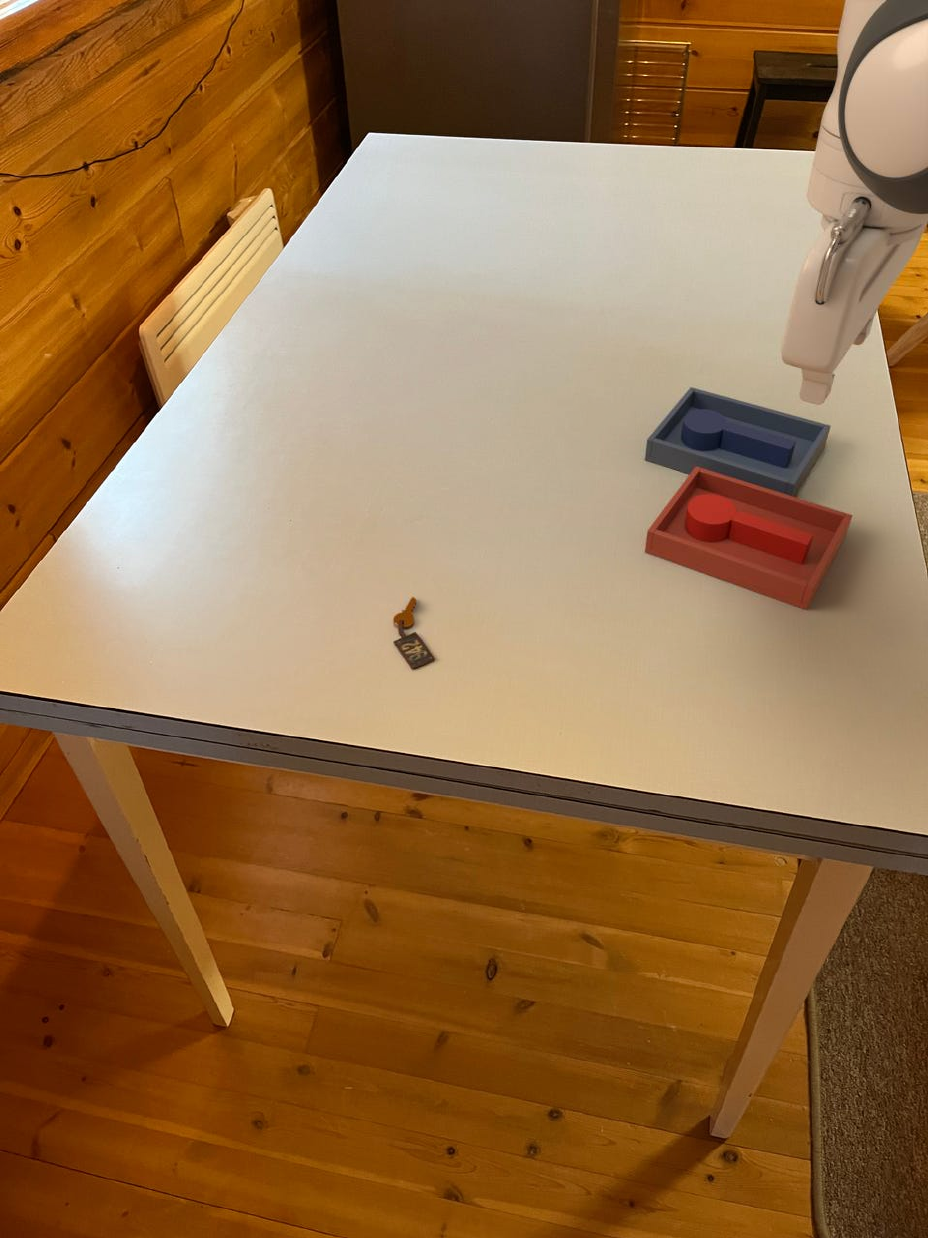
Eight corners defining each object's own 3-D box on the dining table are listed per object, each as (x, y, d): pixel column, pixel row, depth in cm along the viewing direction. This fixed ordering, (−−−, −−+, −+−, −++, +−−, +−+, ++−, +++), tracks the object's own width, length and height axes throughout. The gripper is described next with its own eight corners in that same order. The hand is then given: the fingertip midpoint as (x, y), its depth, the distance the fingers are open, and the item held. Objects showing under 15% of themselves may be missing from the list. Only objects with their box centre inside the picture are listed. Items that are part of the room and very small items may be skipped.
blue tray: (825, 446, 96) (831, 425, 94) (788, 505, 90) (794, 484, 88) (687, 407, 102) (690, 386, 100) (644, 460, 96) (646, 439, 94)
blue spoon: (795, 453, 95) (801, 433, 93) (781, 476, 92) (786, 456, 90) (690, 422, 99) (694, 403, 97) (674, 443, 97) (677, 423, 95)
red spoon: (812, 545, 85) (819, 525, 83) (796, 574, 82) (802, 554, 80) (695, 506, 89) (699, 486, 88) (677, 532, 87) (680, 512, 85)
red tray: (845, 536, 86) (852, 514, 84) (806, 610, 80) (813, 588, 78) (692, 487, 92) (695, 465, 91) (644, 551, 86) (647, 530, 84)
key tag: (436, 664, 77) (436, 659, 77) (401, 672, 77) (401, 667, 76) (415, 598, 83) (414, 593, 82) (382, 605, 82) (382, 600, 82)
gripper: (888, 245, 52) (833, 450, 62) (972, 130, 64) (914, 318, 73) (778, 225, 55) (741, 425, 64) (878, 118, 66) (834, 302, 76)
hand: (834, 367), depth 69 cm, fingers open, 8 cm apart
